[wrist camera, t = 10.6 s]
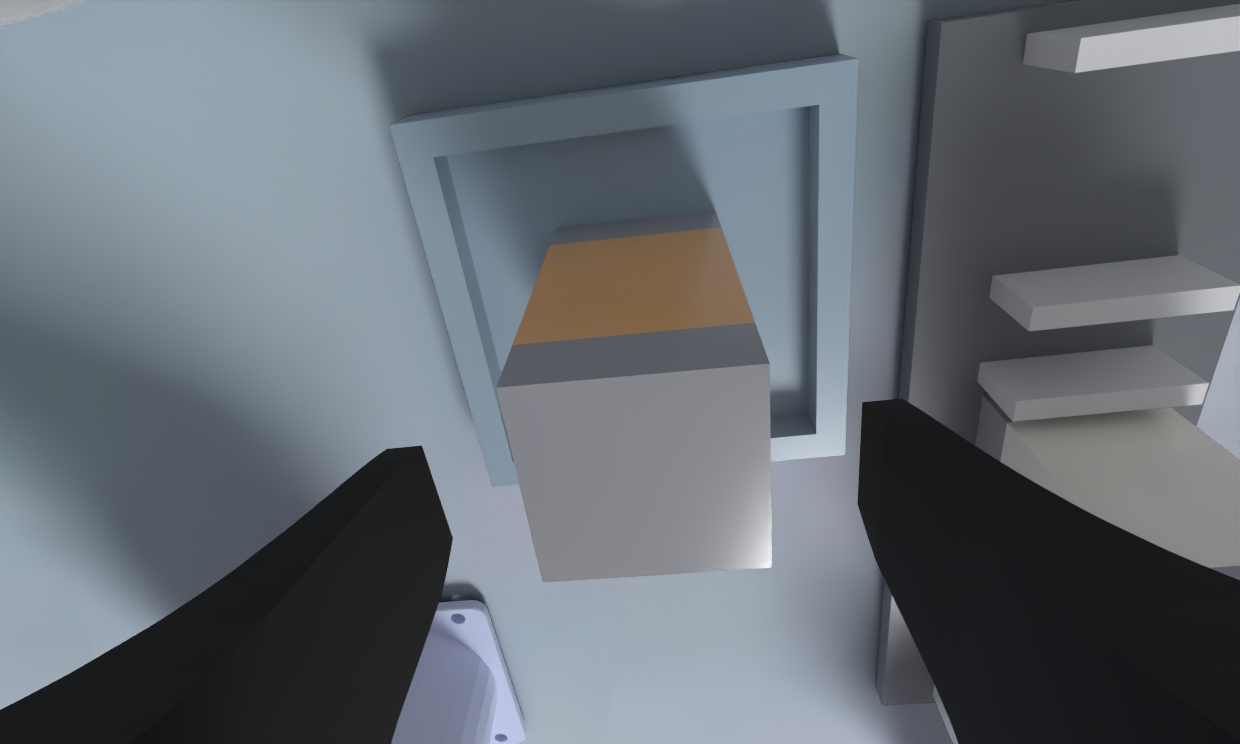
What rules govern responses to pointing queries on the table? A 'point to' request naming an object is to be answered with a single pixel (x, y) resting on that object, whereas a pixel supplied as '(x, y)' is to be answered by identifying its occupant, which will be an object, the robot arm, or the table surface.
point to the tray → (652, 187)
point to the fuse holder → (1068, 225)
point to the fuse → (1131, 475)
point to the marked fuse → (641, 404)
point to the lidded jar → (32, 8)
